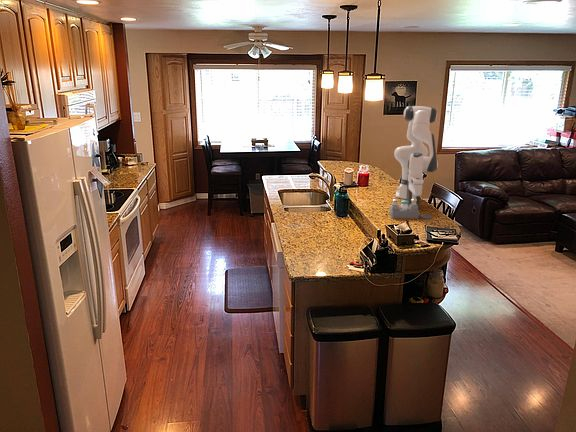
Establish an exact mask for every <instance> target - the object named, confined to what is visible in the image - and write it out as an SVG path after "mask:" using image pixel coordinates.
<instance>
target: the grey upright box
mask: <svg viewBox="0 0 576 432" xmlns="http://www.w3.org/2000/svg"><path fill="white" fill-rule="evenodd" d="M408 174H409V172H408ZM411 199H412V192H411V191H410V190H409V181H408V182H407V198H406V199H405V200H407V201H408V207H409V204H412V201H411ZM416 199H417V201H416V204H417V205H418V210H420V208H421V207H420V205H421V197H420V196H417V197H416Z"/></svg>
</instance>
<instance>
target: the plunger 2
mask: <svg viewBox="0 0 576 432" xmlns="http://www.w3.org/2000/svg"><path fill="white" fill-rule="evenodd" d="M411 201H412V204H411V206H416V201H417V199H416V200H413V199H411Z"/></svg>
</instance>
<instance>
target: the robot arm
mask: <svg viewBox="0 0 576 432" xmlns="http://www.w3.org/2000/svg"><path fill="white" fill-rule="evenodd" d="M437 111H438V110H437V109H436V108H435V107H432V106H431V107H429V106H424V105H423V106H422V105H421V106H419V105H408V106H406V107H405V108H404V110H403V119H404V120H405V121H407V122H408V127H407V131H406V132H407V133H406V139H407V140H408V141H410V143H411V145H401V146H398V147H396V148H395V149H394V153H393V154H394V158H395V159H396V161H398V163H399V164H400V166H401V175H402V176H401V181H400V185H399V186H397V187H396V192H395V198H396V199H398V198H400V199H403V200H406V198H407V182H408V181H409V190H410V191H411V192H412V199H413V200H416V197H417V196H420V198H422V193H423V185H424V182H425V180H424V172H425V173H426V172H427V173H434V172H435V171H437V170H438V167H439V161H438V158H437V148H436V140H435V135H434V134H433V133H432V132H431V130H430V125H431V124H432V123H434V122H436V119H437V117H438V112H437ZM424 143H425V144H427V145H428V147H429V150H428V147H427V146H425V145H424ZM428 154H429V156H428ZM408 172H409V174H408Z"/></svg>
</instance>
